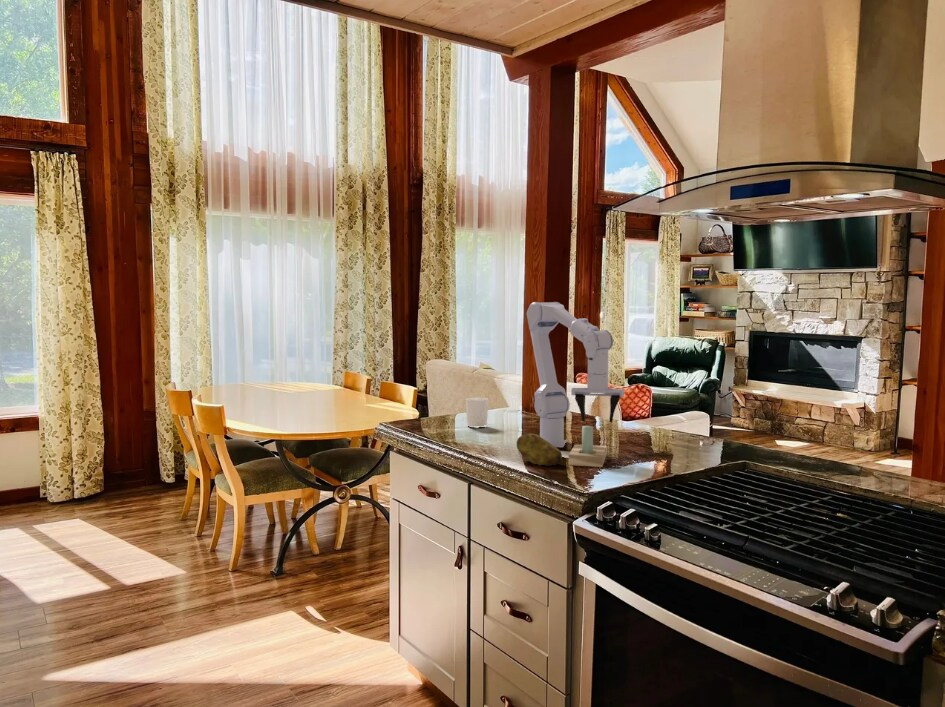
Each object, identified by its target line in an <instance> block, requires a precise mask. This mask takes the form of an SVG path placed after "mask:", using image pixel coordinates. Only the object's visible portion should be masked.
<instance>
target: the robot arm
mask: <svg viewBox="0 0 945 707" xmlns="http://www.w3.org/2000/svg"><path fill="white" fill-rule="evenodd" d="M526 317H527V323H528V329H529V332H530V338H531V343H532V347H533V348H532V349H533V355H534V359H535V360H534V361H535V365H536V371H537V374H538V380H539V387H538V388H537V390H536V391H535V392H534V394H533V395H534V402H533V403H534V404H533V407H534V410H535V413H536V414H537V417H540V418H539V436H540V437H541V438H543V439H544V440H546V441H548V442H549V443H550V444H552V445H553V446H555V447H556V448H564V446H565V445H566V444H565V443H567V441H568V440H566V439H564V436H565V435H564V434H565V430H564V428H565V426H564V425H565V422H564V421H565V420H564V419H565V418H564V417H566V415H567V413H568V412H569V409H570V400H569V397H568V396H567V393H566V389H565V388H564V387H563V385H562V386H561V385H560V383H558V379H557V374H556V368H555V363H554V357H553V352H552V349H551V342H550V341H551V340H550V338H549V334H550V332H551V331H553V330H554V329H555V328H556V327H557V325H558V324H559V323H560V324H561V325H563V326H564V327H566V328H568V329H569V332H570V334H571V335H572V336H573V337H574V338H576V339H577V340H578V341H579V342H581V343H582V344H583V347H584V350H585V355H586V357H587V382H586V384H587V387H571V396H575V397H574V400H575V402H576V404H577V406H578V409H579V412H580V415H581V416H580V417H581V422H585V421H586V396H589V397H590V396H593V397H595V396H596V397H610V398H609V403H610V404H609V405H610V409H609V412H610V413H609V423H614V422H613V420H614V414H615V411H616V408H617V405H618V403H619V401H620V399H621V398H624V397H625V388H624V389H623V388H622V389H621V388H609V351H610V350H611V349H612V347H613V343H614V337H613V334H611V332H610V331H609V330H607V329H604V330H600V329H599V326H597V325H593V324H592V323H590V322H589V319H588V318H583V317H581V318H578V319H577V318H576V317H575V316H574V315H573V314H572V313H570V312H569V311H568V310H567V309H565V306H564V304H561V303H560V302H558V301H553V302H537V301H534V302H532V303H530V304H529V307H528V309H527V311H526Z"/></svg>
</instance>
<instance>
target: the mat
mask: <svg viewBox="0 0 945 707" xmlns="http://www.w3.org/2000/svg"><path fill="white" fill-rule="evenodd" d="M560 452H561V454H562V457H564V458H565V459H569V454H570V452H571V451H566V450H560Z"/></svg>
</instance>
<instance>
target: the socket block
mask: <svg viewBox="0 0 945 707" xmlns="http://www.w3.org/2000/svg"><path fill="white" fill-rule="evenodd" d="M569 452H570V454H569V458H568V466H582V467H596V468H597V467H599V468H602V467H603V466H604V464H605V461H606V458H607V446H606V445H594V444H593V454H584V453H582V444H574V445H573V447H572V449H571V450H570V451H569Z"/></svg>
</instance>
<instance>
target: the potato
mask: <svg viewBox="0 0 945 707" xmlns="http://www.w3.org/2000/svg"><path fill="white" fill-rule="evenodd" d="M516 448H517V450H518V452H519V453H520V454H521V456H522V457H523V458H524V459H527V460H528V461H529V462H530V463H531V464H533V465H535V464H538V465H537V466H541V465H545V466H544V467H553V466H552V465H554V466H556V465H558V464H560V463H561V462H562V460H563V458H562V454H561V452H560V451H561V450H560V449H559V448H558V447H555V446H553V445H552V444H550V443H549V442H548V441H546V440H544V439H543V438H541V437H540V435H538V434H535V433H531V432H529V433H524V434H522V435H521V436H519V437H518V438H517V440H516Z"/></svg>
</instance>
